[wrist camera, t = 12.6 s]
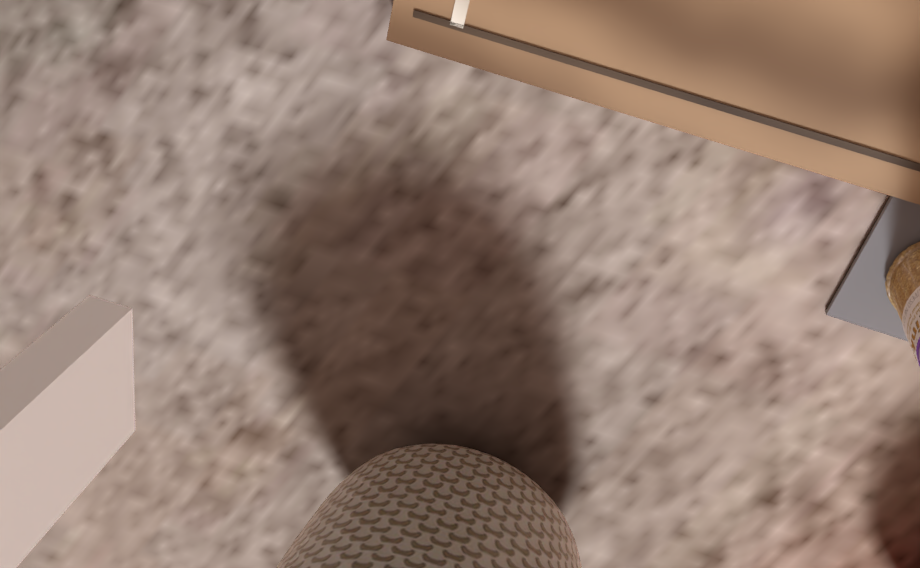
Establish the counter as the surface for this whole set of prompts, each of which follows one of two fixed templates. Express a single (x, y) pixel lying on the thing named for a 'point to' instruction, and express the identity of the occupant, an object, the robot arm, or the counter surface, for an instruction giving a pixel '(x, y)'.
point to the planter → (435, 516)
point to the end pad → (877, 271)
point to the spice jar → (907, 293)
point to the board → (713, 70)
